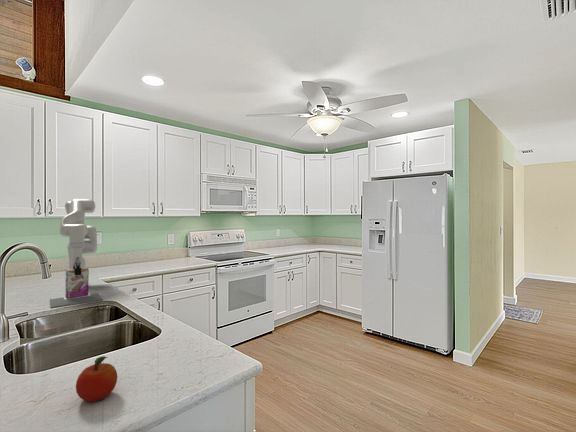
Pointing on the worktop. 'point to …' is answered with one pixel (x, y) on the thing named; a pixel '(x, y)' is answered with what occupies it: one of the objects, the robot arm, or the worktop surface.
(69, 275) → the candy bar box
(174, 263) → the worktop surface
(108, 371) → the fruit
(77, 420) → the worktop surface
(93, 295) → the mat
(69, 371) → the worktop surface
